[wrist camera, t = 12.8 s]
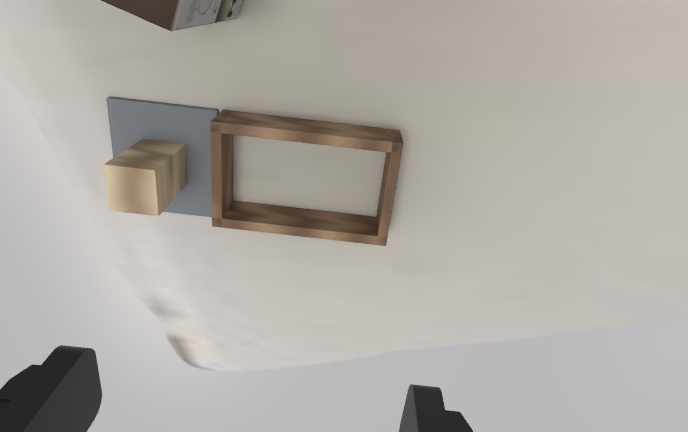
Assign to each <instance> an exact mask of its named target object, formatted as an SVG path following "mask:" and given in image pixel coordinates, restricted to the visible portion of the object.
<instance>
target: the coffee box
mask: <svg viewBox="0 0 688 432" xmlns="http://www.w3.org/2000/svg"><path fill="white" fill-rule="evenodd" d="M102 1H104V2H106V3H108V4H111V5H113V6H115V7H117V8H120V9H122V10H124V11H127V12H129V13H131V14H133V15H136V16H138V17H140V18H142V19H144V20H147V21H149V22H151V23H153V24H156V25H158V26H160V27H163V28H165V29H168V30H170V31H173V30H179V29H184V28H190V27H195V26H200V25H206V24H211V23H216V22H221V21H226V20H231V19H236V18H237V17H238V14H239V11H240V8H241V5H242V2H243V0H102Z"/></svg>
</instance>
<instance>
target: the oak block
mask: <svg viewBox="0 0 688 432" xmlns="http://www.w3.org/2000/svg"><path fill="white" fill-rule="evenodd" d="M104 170H105V178H106V185H107V193H108V201H109V209H110V211H118V212H127V213H136V214H145V215H154V216H159V215H160V214H161V213H162V212H163V210H164V209H165V208H166V207H167V206H168V205H169V204H170V203H171V202H172V200H173V199H174V198H175V197H176V196H177V195H178V194H179V193H180V192H181V190H182V189H183V188H184V187H185V186H186V185H187V184H188V179H187V157H186V143H178V142H169V141H160V140H151V139H141V140H139V141H138V142H137V143H135V144H134V145H132V146H131V147H129V148H128V149H126V150H125V151H123V152H122V153H120V154H119V155H117V156H116V157H114V158H113V159H111V160H110V161H109V162H107V163H106V164H104Z"/></svg>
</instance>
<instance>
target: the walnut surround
mask: <svg viewBox="0 0 688 432" xmlns="http://www.w3.org/2000/svg"><path fill="white" fill-rule="evenodd" d="M233 134H234V135H243V136H251V137H260V138H269V139H277V140H286V141H295V142H303V143H312V144H321V145H329V146H338V147H347V148H355V149H364V150H373V151H381V152H387V153H386V159H385V166H384V172H383V179H382V185H381V192H380V198H379V205H378V211H377V217H372V216H363V215H354V214H345V213H336V212H327V211H319V210H310V209H301V208H292V207H283V206H275V205H266V204H257V203H248V202H239V201H233ZM210 137H211V192H212V226H214V227H223V228H231V229H240V230H249V231H258V232H267V233H276V234H285V235H294V236H303V237H311V238H320V239H329V240H338V241H347V242H356V243H365V244H374V245H382V246H386V243H387V237H388V231H389V225H390V219H391V213H392V207H393V201H394V195H395V189H396V184H397V178H398V172H399V166H400V160H401V154H402V148H403V141H402V137H401V133H400V130H392V129H383V128H375V127H366V126H357V125H349V124H340V123H332V122H323V121H314V120H306V119H297V118H288V117H280V116H271V115H263V114H254V113H245V112H237V111H228V110H223V111H222V112H220V113H219V114H218V115H217V116H216V117H215V118H213V119H212V120H211V121H210Z"/></svg>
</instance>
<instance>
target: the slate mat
mask: <svg viewBox="0 0 688 432" xmlns="http://www.w3.org/2000/svg"><path fill="white" fill-rule="evenodd" d="M107 106H108V115H109V123H110V132H111V141H112V150H113V158H114V157H116V156H117V155H119V154H120V153H122V152H123V151H125V150H126V149H128V148H129V147H131V146H132V145H134V144H135V143H137V142H138V141H139V140H141V139H151V140H160V141H169V142H178V143H186V157H187V179H188V184H187V185H186V186H185V187H184V188H183V189H182V190H181V192H180V193H179V194H178V195H177V196H176V197H175V198H174V199H173V200H172V202H171V203H170V204H169V205H168V206H167V207H166V208H165V209H164V210H163V212H171V213H180V214H189V215H198V216H207V217H212V192H211V137H210V121H211V120H212V119H213V118H215V117H216V116H217V115H218V109H211V108H202V107H194V106H185V105H176V104H168V103H159V102H150V101H142V100H133V99H125V98H116V97H108V98H107Z"/></svg>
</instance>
